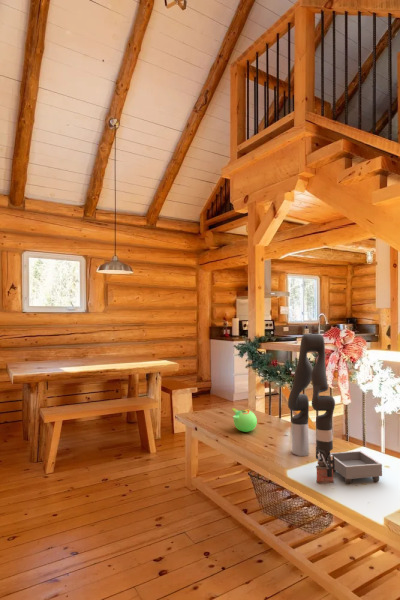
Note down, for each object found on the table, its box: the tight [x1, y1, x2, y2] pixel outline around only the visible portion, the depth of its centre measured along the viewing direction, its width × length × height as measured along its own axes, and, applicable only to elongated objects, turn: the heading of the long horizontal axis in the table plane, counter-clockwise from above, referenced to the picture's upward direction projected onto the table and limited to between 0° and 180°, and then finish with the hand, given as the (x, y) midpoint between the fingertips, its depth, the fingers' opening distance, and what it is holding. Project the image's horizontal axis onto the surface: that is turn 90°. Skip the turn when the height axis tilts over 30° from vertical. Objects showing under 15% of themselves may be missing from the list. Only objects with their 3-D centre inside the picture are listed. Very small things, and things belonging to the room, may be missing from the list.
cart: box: [330, 450, 383, 485], centre depth 190 cm, size 18×18×8 cm
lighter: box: [315, 460, 335, 485], centre depth 184 cm, size 8×3×10 cm, turn 92°
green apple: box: [231, 407, 258, 433], centre depth 265 cm, size 18×17×15 cm
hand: (325, 473), depth 183 cm, fingers open, 8 cm apart
